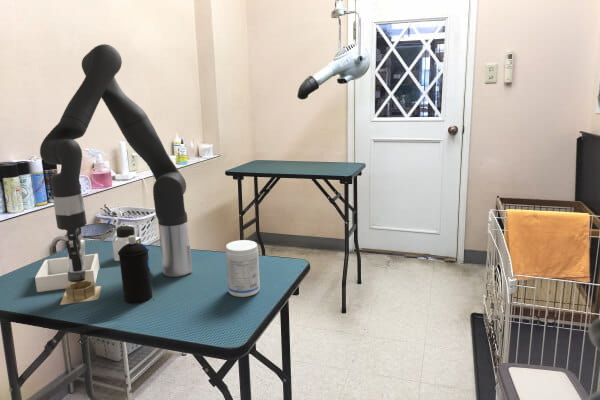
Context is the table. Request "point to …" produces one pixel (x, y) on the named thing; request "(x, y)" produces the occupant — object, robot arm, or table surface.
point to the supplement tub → (242, 268)
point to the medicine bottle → (123, 239)
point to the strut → (80, 275)
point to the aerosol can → (135, 272)
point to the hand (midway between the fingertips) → (78, 267)
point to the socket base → (81, 292)
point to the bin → (63, 273)
